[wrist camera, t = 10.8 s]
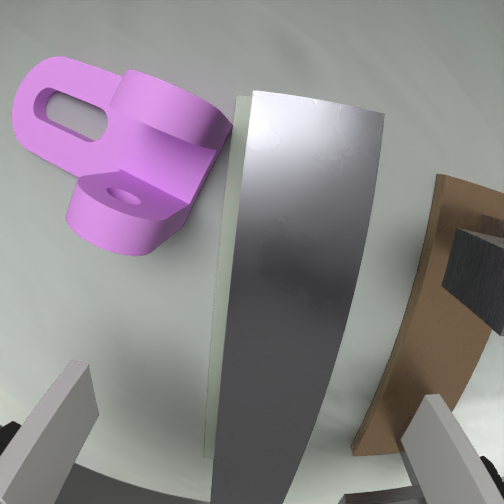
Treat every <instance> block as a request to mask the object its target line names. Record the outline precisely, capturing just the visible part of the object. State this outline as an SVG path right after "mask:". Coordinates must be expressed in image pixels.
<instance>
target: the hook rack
mask: <svg viewBox="0 0 504 504" xmlns="http://www.w3.org/2000/svg"><path fill="white" fill-rule="evenodd" d="M492 329H493V330H494V331H495V332H496V333H497V334H498V335H500V336H504V194H503V193H501V192H498V191H495V190H492V189H489V188H486V187H483V186H480V185H477V184H474V183H471V182H468V181H464V180H461V179H458V178H454V177H451V176H448V175H442V174H437V177H436V184H435V190H434V196H433V202H432V207H431V213H430V218H429V223H428V228H427V232H426V237H425V241H424V246H423V250H422V254H421V258H420V262H419V266H418V270H417V274H416V278H415V281H414V285H413V289H412V292H411V296H410V299H409V302H408V306H407V309H406V312H405V315H404V318H403V322H402V325H401V328H400V331H399V334H398V336H397V339H396V342H395V345H394V348H393V351H392V353H391V356H390V359H389V361H388V364H387V367H386V369H385V372H384V374H383V377H382V379H381V382H380V384H379V387H378V389H377V391H376V394H375V396H374V399H373V401H372V403H371V405H370V408H369V410H368V412H367V414H366V416H365V419H364V421H363V423H362V425H361V427H360V429H359V431H358V433H357V435H356V437H355V440H354V442H353V443H352V445H351V450H352V454H353V456H367V455H380V454H391V453H400V455H401V457H402V460H403V462H404V465H405V468H406V470H407V473H408V476H409V478H410V481H411V484H412V486H408V487H402V488H396V489H389V490H382V491H373V492H364V493H353V494H344V496H343V497H342V498H341V500H340V501H339V503H338V504H427V502H426V499H425V497H424V494H423V492H422V489H421V487H420V484H419V482H418V480H417V477H416V475H415V472H414V470H413V468H412V465H411V463H410V460H409V458H408V456H407V453H406V451H405V449H404V447H403V444H402V442H401V438H402V437H403V435H404V433H405V431H406V430H407V428H408V426H409V424H410V423H411V421H412V419H413V417H414V415H415V414H416V412H417V410H418V408H419V406H420V404H421V402H422V400H423V398H424V396H425V395H432V394H440V396H441V397H442V399H443V400H444V402H445V403H446V405H447V406H448V408H449V409H450V411H451V412H452V411H453V409H454V408H455V406H456V404H457V402H458V401H459V399H460V397H461V395H462V393H463V391H464V389H465V387H466V385H467V384H468V382H469V380H470V378H471V376H472V373H473V371H474V369H475V367H476V365H477V363H478V361H479V359H480V356H481V354H482V352H483V350H484V347H485V345H486V343H487V340H488V338H489V335H490V333H491V330H492Z"/></svg>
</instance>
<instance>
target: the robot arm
mask: <svg viewBox="0 0 504 504" xmlns="http://www.w3.org/2000/svg"><path fill="white" fill-rule="evenodd" d="M98 416H99V412H98V407H97V403H96V399H95V394H94V389H93V384H92V379H91V374H90V369H89V364H85V363H81V362H78V361H74V360H71V362H70V363H69V364H68V365H67V367H66V368H65V369H64V370H63V372H62V373H61V374H60V376H59V377H58V378H57V379H56V381H55V382H54V383H53V385H52V386H51V387H50V388H49V390H48V391H47V392H46V394H45V395H44V396H43V398H42V399H41V400H40V402H39V403H38V404H37V406H36V407H35V408H34V410H33V411H32V412H31V414H30V415H29V416H28V418H27V419H26V421H25V422H24V423H23V425H20V424H18V423H16V422H14V421H12V422H10V423H9V424H7V425H5V426H4V427H2V428H1V429H0V504H54V503H55V501H56V499H57V496H58V494H59V492H60V490H61V488H62V486H63V484H64V482H65V480H66V478H67V476H68V474H69V472H70V470H71V468H72V466H73V464H74V462H75V460H76V458H77V456H78V454H79V452H80V450H81V448H82V446H83V444H84V442H85V440H86V439H87V437H88V435H89V433H90V431H91V429H92V427H93V425H94V423H95V421H96V420H97V418H98ZM401 442H402V444H403V447H404V449H405V451H406V453H407V456H408V458H409V460H410V463H411V465H412V468H413V470H414V472H415V475H416V477H417V480H418V482H419V484H420V487H421V489H422V492H423V494H424V497H425V499H426V502H427V504H504V482H502V479H501V477H500V475H498V472H497V470H496V468H495V467H494V465H493V464H492V463H491V462H490V461H489V460H488V459H487V458H486V457H485V456H481V457H479V456H478V454H477V452H476V451H475V449H474V447H473V446H472V444H471V442H470V441H469V439H468V438H467V436H466V434H465V433H464V431H463V430H462V428H461V426H460V425H459V423H458V422H457V420H456V418H455V417H454V415H453V414H452V412H451V411H450V409H449V408H448V406H447V405H446V403H445V402H444V400H443V399H442V397H441V396H440V394H432V395H425V396H424V398H423V400H422V402H421V404H420V406H419V408H418V410H417V412H416V414H415V415H414V417H413V419H412V421H411V423H410V424H409V426H408V428H407V430H406V431H405V433H404V435H403V437H402V438H401Z"/></svg>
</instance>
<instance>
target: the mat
mask: <svg viewBox="0 0 504 504" xmlns="http://www.w3.org/2000/svg"><path fill="white" fill-rule="evenodd" d="M251 105H252V97H249V96H239V95H237V99H236V106H235V114H234V121H233V129H232V137H231V145H230V153H229V161H228V170H227V178H226V187H225V196H224V205H223V214H222V224H221V233H220V243H219V253H218V264H217V275H216V285H215V297H214V308H213V320H212V333H211V346H210V360H209V374H208V389H207V405H206V422H205V442H204V457H207V458H214V450H215V438H216V427H217V415H218V404H219V393H220V382H221V372H222V361H223V351H224V341H225V331H226V321H227V311H228V301H229V292H230V282H231V273H232V264H233V255H234V246H235V237H236V228H237V219H238V210H239V202H240V193H241V185H242V177H243V168H244V160H245V152H246V144H247V136H248V128H249V120H250V112H251Z"/></svg>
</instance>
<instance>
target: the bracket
mask: <svg viewBox="0 0 504 504" xmlns="http://www.w3.org/2000/svg"><path fill="white" fill-rule="evenodd" d="M56 91H61V92H63V93H66V94H68V95H71V96H73V97H76V98H78V99H80V100H83V101H85V102H88V103H90V104H93V105H95V106H97V107H100V108H101V109H103V110H104V111H105V113H106V115H107V119H108V124H107V128H106V131H105V133H104V134H103V136H102V137H101V138H100V139H98V140H97V141H94V140H92V139H89V138H87V137H85V136H83V135H81V134H79V133H77V132H75V131H73V130H70V129H68V128H66V127H64V126H62V125H60V124H58V123H56V122H53V121H51V120H50V119H48V117H47V115H46V111H45V109H46V103H47V101H48V99H49V97H50V96H51V95H52V94H53V93H55V92H56ZM12 124H13V129H14V133H15V135H16V137H17V139H18V141H19V143H20V144H21V145H22V146H23V147H24V148H26V149H27V150H29V151H31V152H32V153H34V154H36V155H38V156H40V157H41V158H43V159H45V160H47V161H49V162H51V163H52V164H54V165H56V166H58V167H60V168H62V169H63V170H65V171H67V172H69V173H71V174H73V175H74V176H76V177H78V178H79V179H78V180H77V183H76V186H75V189H74V192H73V195H72V198H71V201H70V204H69V207H68V210H67V214H66V221H67V223H68V225H69V226H70V228H71V229H72V230H73V231H74V232H75V233H76V234H77V235H79V236H80V237H81V238H83V239H84V240H86V241H88V242H89V243H91V244H93V245H95V246H97V247H100V248H102V249H105V250H107V251H110V252H114V253H118V254H123V255H130V256H142V255H147V254H149V253H151V252H152V251H153V250H155V249H156V248H157V247H158V246H159V245H160V244H162V243H163V242H164V241H165V240H166V239H168V238H169V237H170V236H171V235H172V234H173V233H175V232H176V231H177V230H178V229H179V228H181V227H182V226H183V225H184V223H185V221H186V219H187V217H188V215H189V213H190V210H191V208H192V206H193V204H194V202H195V200H196V198H197V196H198V194H199V192H200V190H201V188H202V186H203V184H204V182H205V180H206V178H207V176H208V174H209V172H210V170H211V168H212V166H213V165H214V163H215V161H216V159H217V157H218V155H219V153H220V151H221V149H222V147H223V145H224V144H225V142H226V140H227V138H228V136H229V134H230V132H231V131H232V129H233V125H232V124H231V123H230V122H229V120H228V119H227V118H226V117H225V116H224V115H223V114H222V113H221V111H220V110H218V109H217V108H216V107H214V106H213V105H211V104H209V103H208V102H206V101H204V100H202V99H201V98H199V97H197V96H195V95H193V94H191V93H189V92H187V91H185V90H183V89H181V88H179V87H176V86H174V85H172V84H170V83H167V82H165V81H163V80H160V79H158V78H155V77H152V76H150V75H147V74H144V73H141V72H138V71H134V70H129V69H127V70H126V72H125V74H124V76H123V77H122V76H119V75H117V74H114V73H111V72H108V71H106V70H103V69H100V68H97V67H94V66H91V65H88V64H85V63H82V62H79V61H76V60H73V59H70V58H66V57H60V56H58V57H51V58H48V59H46V60H44V61H42V62H40V63H39V64H37V65H36V66H35V67H34V68H33V69H32V70H31V71H30V72H29V73H28V74H27V75H26V77H25V78H24V80H23V81H22V83H21V84H20V86H19V88H18V91H17V93H16V96H15V99H14V103H13V109H12Z"/></svg>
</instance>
